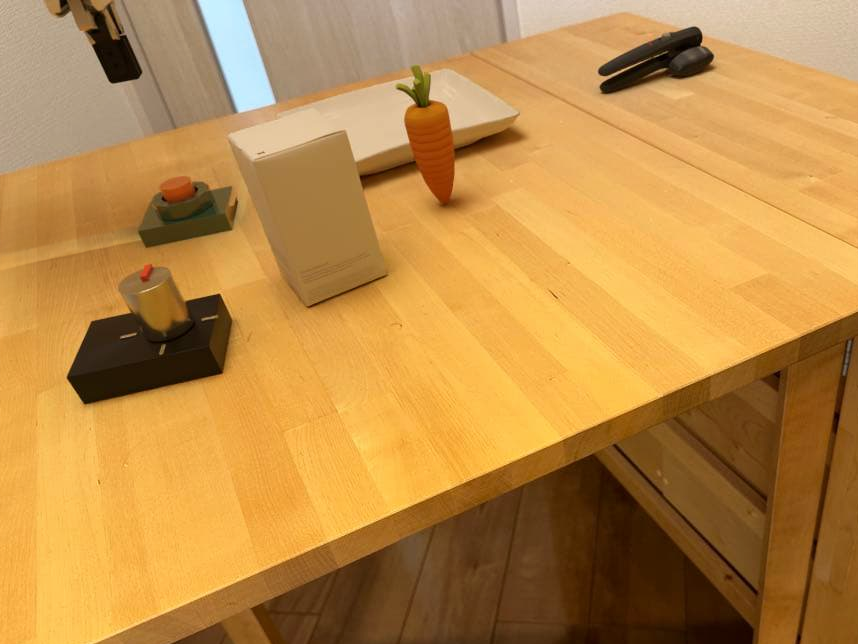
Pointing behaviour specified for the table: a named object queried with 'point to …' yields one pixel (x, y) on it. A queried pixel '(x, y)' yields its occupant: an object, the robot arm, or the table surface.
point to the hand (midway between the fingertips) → (126, 78)
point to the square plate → (385, 109)
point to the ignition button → (177, 189)
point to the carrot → (430, 136)
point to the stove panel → (149, 353)
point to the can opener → (658, 58)
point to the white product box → (310, 203)
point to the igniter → (188, 216)
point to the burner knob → (156, 303)
